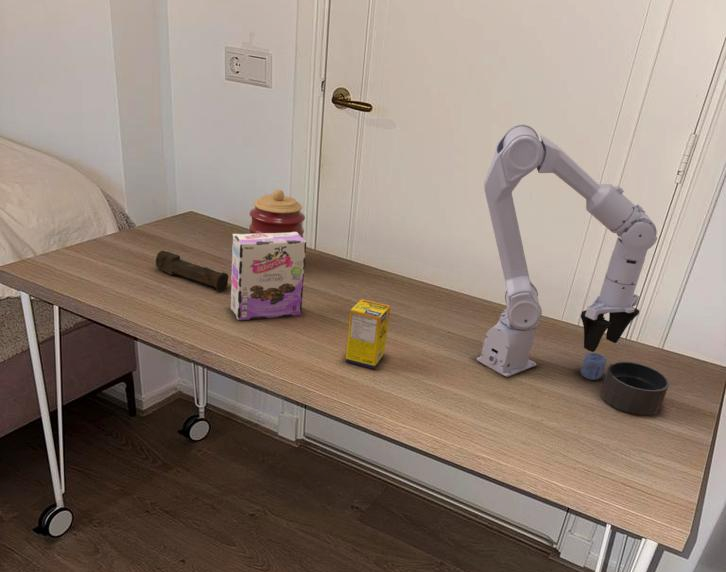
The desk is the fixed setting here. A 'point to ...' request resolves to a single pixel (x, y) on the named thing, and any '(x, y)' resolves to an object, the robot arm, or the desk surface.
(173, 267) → the hand tool
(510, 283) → the robot arm
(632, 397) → the dark grey round bowl
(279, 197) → the kitchen canister
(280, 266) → the candy box
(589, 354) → the decorative dice
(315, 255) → the desk surface
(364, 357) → the supplement box
